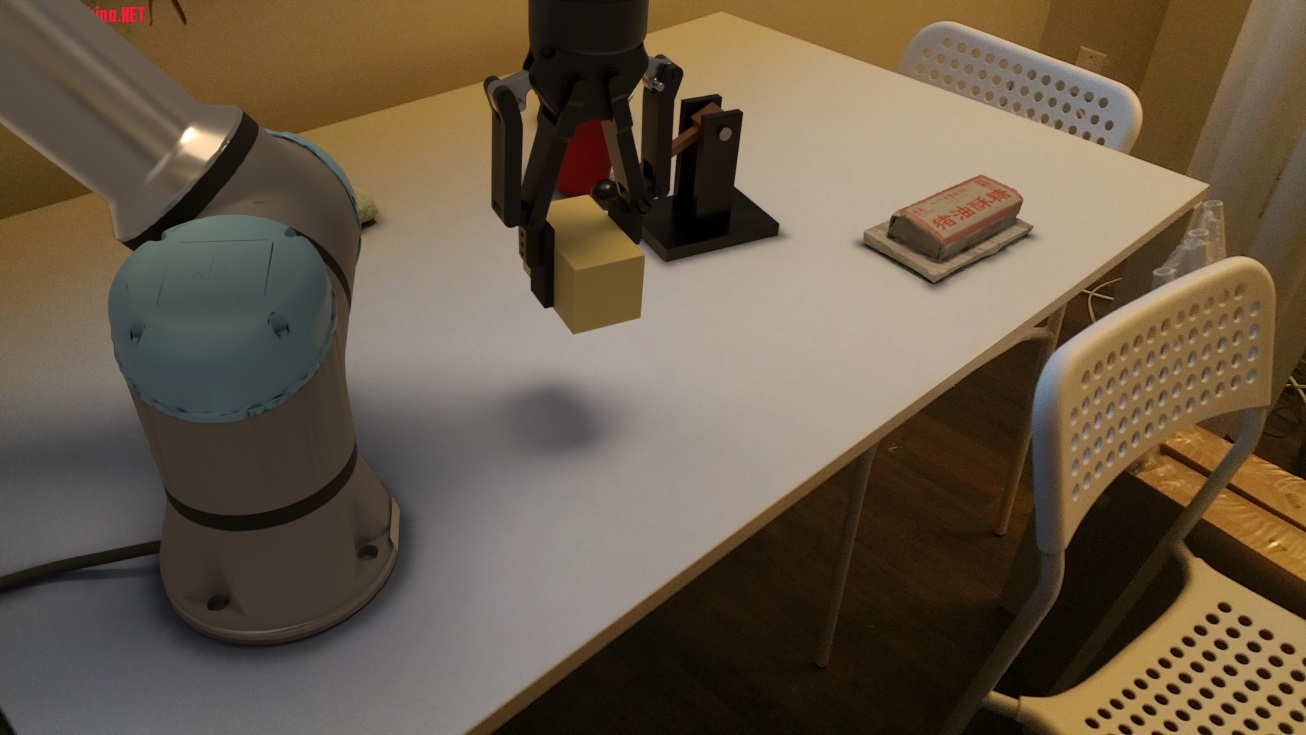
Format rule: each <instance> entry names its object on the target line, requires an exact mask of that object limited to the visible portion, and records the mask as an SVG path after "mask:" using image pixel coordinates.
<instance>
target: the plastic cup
mask: <svg viewBox="0 0 1306 735" xmlns="http://www.w3.org/2000/svg"><path fill="white" fill-rule="evenodd" d="M533 91H534V90H533ZM534 95H535V96H536V97H537V99H538V102H539V103H540V102H541V99H540V98H539V97H538V95H537V94H536V93H535V91H534ZM634 95H635V92H634V91H633V92H632V94H631V95H630V97H629V98H628V102H629V103H630V102H631V100H633V98H634ZM612 169H613V168H612V164H611V160H610V156H609V152H608V148H607V144H606V140H605V136H604V132H603V128H602V124H601V121H600V120H589V121H587V122H585V123H582V124H578V125H577V128H576V131H575V135H574V138H573V140H572V141H569V142H568V145H567V148H566V152H565V155H564V159H563V162H562V166H561V169H560V173H559V176H558V179H557V183H556V188H557V190H558V191H559V192H560V193H561V194H563V195H564V196H567V197H569V198H573V197H578V196H584V195H589V196H590V193H591V189H592V187H593V185H594V184H595V183H596V182H597V181H599V180H601V179H610V177H611V172H612ZM590 197H591V196H590Z"/></svg>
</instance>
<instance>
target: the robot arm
mask: <svg viewBox="0 0 1306 735" xmlns="http://www.w3.org/2000/svg"><path fill="white" fill-rule="evenodd" d="M649 7H650V0H527V13H528V14H527V16H528V18H527V21H528V22H527V25H528V26H527V27H528V28H527V30H528V40H529V47H528V52H527V54H526V57H525V59H524V60H523V63H522V66H521V67H522V68H521V70H519V71H517V72H515V73H512V74H510V75H508V76H506V77H504V78H500V77H499V76H496V75H490V76H487V77H486V78H485V79H484V81H483V84H482V87H483V92H484V94H485V96H486V99H487V102H488V105H489V107H490V110H491V167H490V169H491V175H490V176H491V179H490V182H491V184H490V186H491V187H490V192H491V193H490V206H491V210H492V211H493V212H494V213H495V215H496V216H497V217H498V219H499V220H500V221H501V223H502V224H503V225H504V226H505V227H506V228H508V229H514V228H516V227H517V228H518V255H519V256H520V258H521V260H522V262H523V261H524V262H525V264H526V265H527V266H528V268H530V277H529V279H530V291H531V293H532V294H533V295H534V297H535V298H536V299H537V301H538V302H539V304H541V306H542V307H543V309H544V310H546V309H550V308H553V307H554V247H555V229H554V228H553V227H552V226H551V225H550V223H549V222H548V221H547V220H546V217H547V214H548V211H549V207H550V204H551V202H552V200H553V196H554V193H555V189H556V187H557V184H556V183H557V179H558V176H559V173H560V169H561V166H562V162H563V159H564V155H565V152H566V148H567V145H568V142H569V141H572V140H573V138H574V135H575V131H576V128H577V125H578V124H582V123H585V122H587V121H589V120H600V121H601V124H602V128H603V132H604V136H605V140H606V144H607V148H608V152H609V156H610V160H611V164H612V168H611V169H612V172H613V176H614V181H616V185H617V189H618V192H619V194H620V195H621V200H620V199H619V198H618V197H616V198H611V199H608V211H607V215H608V216H609V217H610V218H611V219H612V220H613V221H614V222H615V223H616V224H617V225H618V226H619V228H620V229H621V230H622V231H623V232H624V233H625V234H626V235H627V236H628V237H629V238H630V239H631V240H632V241H633V242H634V243H635V244H636V245H637V246H639V245H640V243H641V241H642V239H643V238H642V226H643V216H645V215H647V214H649V213H650V212H651V210H652V204H651V203H650V202H649V201H651V200H652V199H656V198H659V199H663V198H665V197H666V196H669V194H670V191H671V179H672V178H671V176H672V175H671V174H672V159H673V157H672V141H673V140H674V137H673V136H674V121H675V119H674V117H675V100H676V98H677V95H678V93H679V89H680V87H681V84H682V81H683V78H684V75H685V74H684V70H683V68H682V67H681V66H680V65H678V64H677V63H676V62H674V61H673V60H671V59H670V58H669V57H667V56H666V55H664V54H662V53H659V54H657V55H655V56H651V55H648V52H647V50H646V48H645V44H644V42H645V39H646V37H647V35H648V23H649ZM640 82H642V84H643V89H642V100H641V101H642V102H641V103H642V104H641V105H642V107H641V133H640V134H641V137H640V138H641V140H640V160H639V155H638V151H637V146H636V141H635V137H634V133H633V127H634V121H633V116H632V111H631V108H630V107H631V106H630V102H628V98H629V97H630V95H631V94H632V92H634V91H635V89H636V88H637V87H638V85H639V84H640ZM531 90H533V91H535V92H534V94H535V93H536V94H537V95H538V96H537V98H538V97H539V98H540V99H541V102H539V106H538V111H537V114H536V122H537V128H536V130H535V135H534V138H533V143H532V146H531V150H530V153H529V157H528V161H527V163H526V164H527V165H526V168H525V172H524V175H523V151H524V150H523V146H524V144H523V143H524V123H523V118H522V113H521V112H524V111H525V110H526V109H527V96H528V93H529V92H530V91H531ZM0 125H2V126H3V127H4V128H6V129H7V130H8V131H10V132H11V133H12V134H14V135H15V136H17V137H18V138H19V139H21V140H22V141H24V142H25V143H26V144H28V145H29V146H30V147H31V148H32V149H34V150H35V151H36V152H38V153H39V154H41V155H42V156H43V157H45V159H47V160H48V161H50V162H51V163H52V164H54V165H55V166H57V167H58V168H60V169H61V170H62V171H64V172H65V173H67V174H68V175H69V176H70V177H72V178H73V179H74V180H76V181H77V182H78V183H80V184H81V185H83V186H84V187H85V188H87V189H88V190H89V191H90V192H92V193H93V194H94V195H96V196H97V197H99V198H100V199H101V200H102V201H104V202H105V204H106V205H107V206H108V212H109V218H110V224H111V230H112V235H113V238H114V239H115V240H117V241H118V242H119V243H121V244H122V245H124V246H125V247H126V248H127V249H129V250H130V251H131V253H130V255H129V256H128V257H127V258H126V259H125V261H124V262H123V263H122V264H121V265H120V267H119V269H118V270H117V271H116V274H115V275H114V278H113V280H112V282H111V285H110V289H109V291H108V297H107V298H108V299H107V315H108V316H107V318H108V322H109V327H110V339H111V342H112V346H113V357H114V360H115V362H116V363H117V366H118V369H119V372H120V373H121V374H122V376H123V379H124V381H125V383H126V385H127V389H128V390H129V394H130V397H131V398H132V399H131V400H132V401H133V405H134V408H135V411H136V413H137V416H138V419H139V422H140V426H141V428H142V430H143V433H144V437H145V439H146V441H147V444H148V447H149V450H150V453H151V456H152V458H153V461H154V464H155V467H156V470H157V473H158V475H159V478H160V480H161V483H162V486H163V489H164V492H165V495H166V502H165V509H164V517H163V523H162V524H163V525H162V531H161V537H160V538H161V539H157V540H153V541H147V542H142V543H136V544H133V545H127V546H122V547H117V548H113V549H107V550H103V551H98V552H93V553H88V554H83V555H77V556H74V557H68V558H64V559H59V560H55V561H51V562H47V563H43V564H39V565H35V566H33V567H32V566H31V567H28V568H25V569H22V570H18V571H15V572H12V573H8V574H6V575H1V576H0V592H1V591H5V590H8V589H11V588H14V587H17V586H20V585H24V584H27V583H30V582H31V583H32V582H34V581H38V580H40V579H45V578H48V577H52V576H56V575H60V574H65V573H69V572H73V571H78V570H82V569H88V568H92V567H98V566H103V565H107V564H108V565H109V564H113V563H117V562H122V561H127V560H132V559H137V558H142V557H147V556H152V555H156V554H159V558H158V560H159V568H160V578H161V582H162V584H163V588H164V590H165V594H166V596H167V598H168V600H169V603H170V606H171V608H172V609H173V610H174V611H175V613H176V614H177V616H179V618H180V619H181V620H182V621H183V622H184V623H185V624H187V625H188V626H189V627H191V628H192V629H194V630H195V631H197V632H198V633H200V634H203V635H205V636H207V637H209V638H212V639H214V640H218V641H222V642H226V643H232V644H238V645H246V646H247V645H249V646H258V645H259V646H261V645H262V646H263V645H276V644H281V643H282V644H283V643H287V642H293V641H296V640H301V639H304V638H307V637H309V636H313V635H315V634H318V633H320V632H323V631H326V630H327V629H329V628H332V627H334V626H335V625H337V624H339V623H341V622H343V621H344V620H346V619H347V618H349V617H351V616H352V615H354V614H355V613H356V612H357V611H359V610H360V609H362V607H364V606H365V605H366V604H367V603H369V601H370V600H371V599H373V598H374V596H375V595H376V594H377V593H378V592H379V591H380V589H381V588H382V587H383V586H384V585H385V583H386V581H387V580H388V578H389V577H390V574H391V573H392V571H393V568H394V567H395V563H396V561H397V560H396V559H397V558H398V552H399V547H400V535H399V534H400V533H399V531H400V518H401V517H400V516H401V515H400V514H401V509H400V507H399V505H398V503H397V502H396V499H395V498H394V497H392V501H391V497H390V495H389V494H388V492H387V490H386V488H385V487H384V485H383V484H382V483H381V481H380V480H379V478H378V477H377V475H376V474H375V472H374V471H373V469H372V468H371V467H370V465H369V464H368V462H367V461H366V459H365V458H364V456H363V455H362V454H361V452H360V450H359V449H358V445H357V444H358V443H357V439H356V432H355V431H356V430H355V425H354V420H353V414H352V407H351V401H350V400H351V399H350V394H349V389H348V382H347V373H346V350H347V343H348V342H347V341H348V332H349V324H350V314H351V309H352V303H353V294H354V285H355V277H356V268H357V266H358V262H359V259H360V255H361V250H362V241H363V240H362V224H361V222H360V217H359V209H358V203H357V199H356V195H355V193H354V190H353V188H352V186H353V185H352V184H351V181H350V179H349V178H348V176H347V174H346V173H345V171H344V170H343V169H342V167H341V166H340V165H339V164H338V163H337V161H336V160H335V159H334V158H333V157H332V156H331V155H330V154H329V153H328V152H327V151H325V150H324V149H323V148H322V147H320V146H319V145H317V144H316V143H314V142H312V141H311V140H309V139H307V138H305V137H303V136H300V135H299V134H296V133H293V132H290V131H286V130H285V131H282V132H281V131H274V130H271V129H269V128H263V127H262V126H261V125H260V124H259V123H258V122H256V120H254V119H253V118H252V117H251V116H249V114H247V112H245V111H244V110H243V109H242V108H240V107H239V106H237V105H236V104H209V103H208V104H206V103H201V102H199V101H197V99H195V98H194V97H193V96H192V95H190V93H188V92H187V91H186V90H184V89H183V87H181V86H180V85H179V84H177V83H176V82H175V81H174V80H173V79H172V78H171V77H169V76H168V75H167V74H166V73H165V72H164V71H163V70H161V69H160V68H159V67H158V66H157V65H156V64H154V63H153V62H152V61H151V60H150V59H149V58H147V57H146V56H145V55H144V54H143V53H141V52H140V50H139V49H137V48H136V47H135V46H134V45H132V44H131V43H130V42H129V41H127V39H125V38H124V37H123V36H122V35H121V34H119V33H118V32H117V31H116V30H115V29H114V28H113V27H111V26H110V25H109V24H108V23H107V22H106V21H104V20H103V19H102V18H101V17H100V16H98V15H97V14H96V13H95V12H94V11H93V10H91V9H90V8H89V7H88V6H87V5H86V4H85V3H83V2H82V1H81V0H0ZM639 163H641V168H640V164H639ZM522 178H523V179H522Z"/></svg>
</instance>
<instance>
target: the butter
mask: <svg viewBox="0 0 1306 735" xmlns="http://www.w3.org/2000/svg"><path fill="white" fill-rule="evenodd" d="M546 220H547V221H548V222H549V223H550V225H551V226H552V227H553V228H554V229H555V247H554V307H552V309H553V310H554V311H555V312H556V314H557V316H558V317H559V318H560V319H561V321H562V322H563V323H564V324H565V326H566V327H567V328H568V330H569V331H570V333H571V334H572V335H577V334H582V333H586V332H591V331H594V330H598V329H601V328H606V327H609V326H613V325H618V324H621V323H625V322H630V321H634V320H638V319H641V316H642V305H643V291H644V290H643V289H644V276H645V263H646V254H645V253H644V252H643V251H642V249H640V247H639V246H638V245H636V244H635V243H634V242H633V241H632V240H631V239H630V238H629V237H628V236H627V235H626V234H625V233H624V232H623V231H622V230H621V229H620V228H619V226H618V225H617V224H616V223H615V222H614V221H613V220H612V219H611V218H610V217H609V216H608V213H606V211H603V210H602V208H601V207H600V206H599V205H598V204H597V203H596V202H595V201H594V200H593V199H592V198H591V197H590V196H589V195H584V196H578V197H568V198H564V199H563V198H562V199H557V200H553V201H552V200H551V204H550V207H549V211H548V214H547V217H546ZM522 269H523V271H524V272H525V274H526V275H527V276H528V277H529V278H530V268H528V266H527V265H526V264H525V262H524V261H523V260H522Z"/></svg>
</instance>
